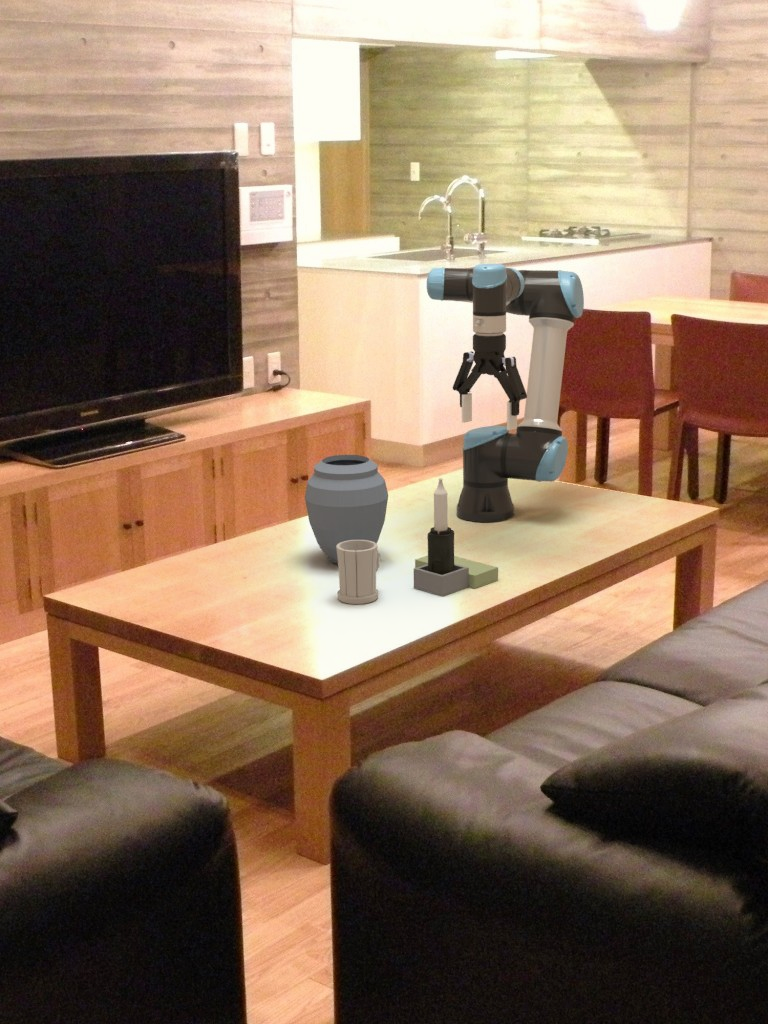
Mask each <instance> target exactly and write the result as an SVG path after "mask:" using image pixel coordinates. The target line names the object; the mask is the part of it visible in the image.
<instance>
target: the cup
mask: <svg viewBox="0 0 768 1024" xmlns="http://www.w3.org/2000/svg"><path fill="white" fill-rule="evenodd" d="M378 546H379V545H378V543H377V544H376V543H375V542H372V541H368V540H349V541H344V542H341V543H339V544H337V546H336V548H337V557H338V564H337V565H338V580H339V581H338V583H339V590H338V591H337V599H338V600H339V601H341V602H342V603H345V604H350V605H366V604H369V603H370V604H371V603H373V602H375V601H376V600H377V599H378V598H379V590H378V589H377V572H378V571H379V568H380V557H381V555H380V552H379V550H378Z"/></svg>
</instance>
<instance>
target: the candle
mask: <svg viewBox="0 0 768 1024" xmlns="http://www.w3.org/2000/svg"><path fill="white" fill-rule="evenodd" d="M443 480H444V479H443V478H442V477H439V478H438V483H437V487H436V489H435V491H434V492H433V527H431V528H430V530H429V532H428V533H427V556H428V571H429V572H433V573H437V574H440V575H444V574H447V573H450V572H453V571H454V556H455V530H454V529H452V528H451V527H449V526H448V525H449V523H448V522H449V521H448V518H449V517H448V509H449V507H448V492H447V490H446V489H445V485H444V483H443Z"/></svg>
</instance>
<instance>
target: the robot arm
mask: <svg viewBox="0 0 768 1024" xmlns="http://www.w3.org/2000/svg"><path fill="white" fill-rule="evenodd" d="M583 289H584V288H583V285H582V280H581V279H580V276H579V275H578V274H577V273H575V272H574V271H568V270H566V271H565V270H561V269H559V270H539V269H538V270H535V269H534V270H531V269H530V270H527V269H520V270H518V269H516V268H513V267H506V266H505V265H504V264H502V263H480V264H476V265H475V266H473V268H461V267H459V268H456V267H454V268H453V267H445V266H444V267H434V268H431V269H430V271H429V272H428V274H427V277H426V292H427V295H428V297H429V298H430V299H431V300H436V301H442V302H443V301H450V302H451V301H453V302H464V303H471V304H472V332H473V333H474V334H473V335H472V350H473V351H467V352H464V353H463V356H462V362H461V365H460V367H459V369H458V372H457V374H456V377H455V380H454V383H453V385H452V390H453V391H456V392H458V394H459V407H460V408H461V423H464V424H465V423H469V422H472V421H473V394H472V393H471V392H472V391H471V390H472V388H473V386H474V385H475V384H476V383H477V382H478V380H479V379H480V377H481V375H489V376H493V378H495V379H497V381H498V383H499V384H500V386H501V387H502V390H503V391H504V393H505V394H506V396H507V398H508V399H509V400H508V401H506V426H503V425H490V426H487V425H486V426H482V427H481V426H480V427H477V428H473V429H470V430H468V431H467V432H465V433H464V435H463V440H462V441H463V443H462V445H463V446H462V475H463V477H462V478H463V479H462V483H463V485H462V489H461V493H460V496H459V498H458V502H457V504H456V516H457V517H458V518H459V519H462V520H465V521H470V522H476V523H477V522H478V523H494V522H501V521H506V520H507V521H508V520H509V519H512V518H513V517H514V516H515V505H514V503H513V500H512V496H511V492H510V490H509V480H508V479H513V480H523V481H534V482H539V483H540V482H554V481H557V479H559V478H560V476H561V474H562V473H563V471H564V469H565V466H566V462H567V458H568V452H569V448H568V447H569V442H568V440H567V438H566V437H564V436H563V430H562V428H561V427H560V425H559V424H558V417H559V409H560V400H561V390H562V382H563V372H564V363H565V356H566V354H565V353H566V346H567V335H568V332H569V330H571V328H573V327H574V326H575V320H576V319H578V318H581V317H582V315H583V312H584V307H585V306H584V305H585V303H584V302H585V301H584V299H585V298H584V297H585V295H584V291H583ZM507 313H508V314H512V315H516V316H517V315H518V316H527V317H528V323H529V324H530V325H531V327H532V328H533V332H532V333H533V334H532V342H531V343H532V344H531V353H530V362H529V369H528V378H527V385H526V386H527V389H525V387H524V384H523V381H522V377H521V375H520V373H519V372H520V371H519V369H518V367H517V358H516V356H509V357H505V352H506V348H507V335H506V334H505V333H506V331H507ZM575 318H576V319H575ZM474 363H475V365H474V366H473V364H474ZM472 366H473V367H472ZM470 371H471V372H470ZM522 400H525V404H524V405H525V406H524V415H523V419H522V421H520V423H519V424H518V416H519V415H520V401H522ZM512 430H516V432H515V433H509V432H510V431H512Z"/></svg>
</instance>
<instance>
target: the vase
mask: <svg viewBox="0 0 768 1024" xmlns="http://www.w3.org/2000/svg"><path fill="white" fill-rule="evenodd" d="M378 467H379V466H378V464H377V463H376V462H374V460H372V459H370V458H369V457H367V456H364V455H358V454H337V455H330V456H327V457H324V458H322V459H321V460H320V461H319V462H317V463H316V464H315V465H314V466H313V472H314V473H312V475H311V476H310V478H309V479H308V480H307V482H306V488H305V494H304V501H305V506H306V511H307V516H308V522H309V525H310V527H311V531H312V532H313V534H314V538H315V541H316V543H317V544H318V546H319V547H320V549H321V551H322V552H323V554H324V556H326V558H327V559H328V560H329V561H330V562H332V563H334V564H336V565H338V557H337V548H336V546H337V544H339V543H341V542H344V541H349V540H368V541H372V542H375V543H376V544H377V545H378V542H379V538H380V537H381V533H382V530H383V526H384V525H385V521H386V514H387V508H388V501H389V500H388V499H389V493H388V492H389V491H388V488H387V484H386V480H385V478H384V476H382V475H381V473H380V472H379V471H378V470H379V469H378Z"/></svg>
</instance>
